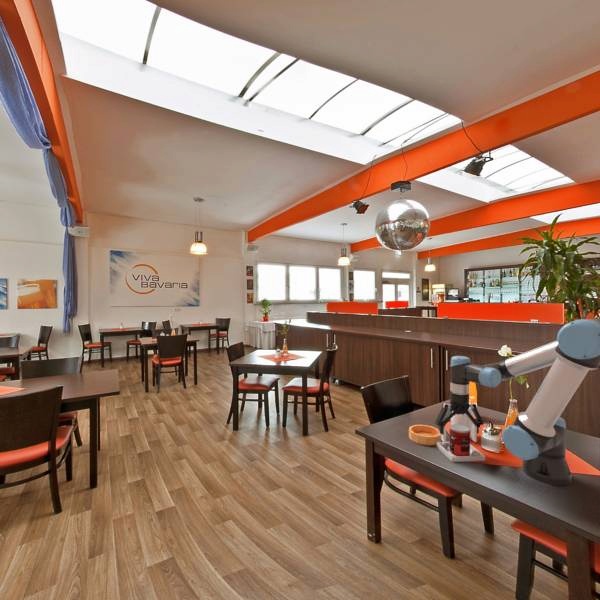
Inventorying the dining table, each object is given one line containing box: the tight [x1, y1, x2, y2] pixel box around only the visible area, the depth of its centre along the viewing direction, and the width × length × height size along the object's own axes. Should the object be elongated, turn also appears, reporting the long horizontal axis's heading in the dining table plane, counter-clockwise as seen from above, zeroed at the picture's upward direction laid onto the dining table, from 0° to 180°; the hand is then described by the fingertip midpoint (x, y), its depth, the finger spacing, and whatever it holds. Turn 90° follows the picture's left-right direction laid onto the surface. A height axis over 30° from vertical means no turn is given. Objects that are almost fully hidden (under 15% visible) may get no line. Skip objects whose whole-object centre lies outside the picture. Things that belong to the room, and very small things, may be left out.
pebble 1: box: [441, 441, 448, 449], centre depth 148 cm, size 3×3×3 cm
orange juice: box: [468, 382, 478, 420], centre depth 187 cm, size 8×9×20 cm
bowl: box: [408, 424, 442, 446], centre depth 158 cm, size 14×14×4 cm
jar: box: [450, 403, 476, 439], centre depth 162 cm, size 11×10×15 cm
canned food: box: [449, 424, 471, 456], centre depth 143 cm, size 8×8×11 cm
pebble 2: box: [472, 450, 481, 456], centre depth 139 cm, size 3×3×3 cm
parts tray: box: [435, 441, 486, 463], centre depth 144 cm, size 14×14×2 cm
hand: (458, 440), depth 144 cm, fingers open, 13 cm apart
